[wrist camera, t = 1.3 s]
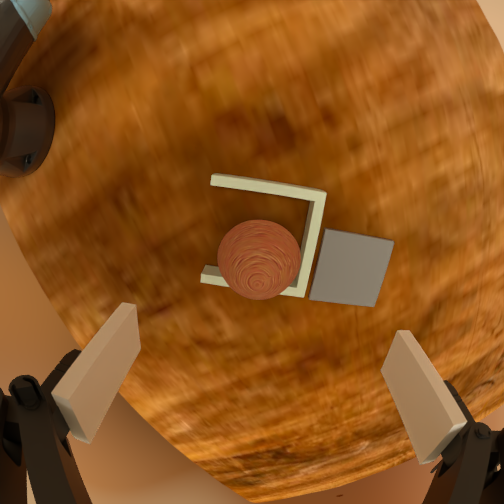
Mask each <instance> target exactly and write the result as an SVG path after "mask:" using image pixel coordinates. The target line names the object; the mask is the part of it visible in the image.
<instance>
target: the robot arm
mask: <svg viewBox="0 0 504 504" xmlns="http://www.w3.org/2000/svg"><path fill="white" fill-rule="evenodd" d="M51 13H52V5H51V3H50V1H49V0H0V175H3V176H7V177H13V178H15V177H21V176H26V175H29V174H31V173H32V172H34V171H35V170H36V169H37V168H38V167H39V166H40V165H41V163H42V162H43V160H44V159H45V157H46V155H47V153H48V150H49V148H50V145H51V142H52V138H53V133H54V125H55V114H54V107H53V103H52V100H51V98H50V96H49V95H48V93H47V92H46V91H45V90H44V89H42V88H40V87H36V86H29V85H26V86H21V87H17V88H14V89H11V90H8V91H5V90H6V88H7V86H8V84H9V82H10V80H11V79H12V77H13V75H14V73H15V71H16V70H17V68H18V66H19V64H20V63H21V61H22V59H23V58H24V56H25V55H26V53H27V51H28V50H29V48H30V47H31V45H32V44H33V42H34V41H36V40H37V36H38V34H39V32H40V31H41V29H42V28H43V26H44V25H45V23H46V22H47V20H48V19H49V17H50V16H51ZM140 350H141V345H140V338H139V329H138V320H137V310H136V305H135V304H129V303H124V302H122V303H121V304H120V306H119V307H118V308H117V309H116V310H115V311H114V313H113V314H112V315H111V316H110V317H109V319H108V320H107V321H106V322H105V324H104V325H103V326H102V327H101V328H100V330H99V331H98V332H97V333H96V335H95V336H94V337H93V338H92V340H91V341H90V342H89V343H88V345H87V346H86V347H85V348H84V350H83V351H79V350H76V349H74V350H72V351H71V352H69V353H68V354H66V355H65V356H64V357H63V359H62V360H61V361H60V363H59V364H58V365H57V366H56V367H55V370H53V371H52V372H51V373H50V375H49V376H48V377H47V379H46V380H45V381H44V382H43V384H42V385H41V386H40V385H39V383H38V381H37V380H36V379H35V378H34V377H33V376H30V375H21V376H19V377H16V378H15V379H13V380H12V382H11V383H10V385H9V392H10V394H11V396H7V395H4V393H3V391H2V389H1V388H0V504H27V483H26V482H27V480H26V477H27V471H28V475H29V480H30V484H31V487H32V491H33V494H34V498H35V501H36V504H92V502H91V499H90V497H89V495H88V493H87V490H86V488H85V485H84V483H83V480H82V478H81V476H80V473H79V470H78V467H77V465H76V462H75V459H74V456H73V453H72V450H71V447H70V444H69V441H68V439H67V437H66V436H67V434H68V432H69V431H71V433H72V435H73V436H74V438H76V439H78V440H81V441H83V442H86V443H89V444H91V442H92V440H93V438H94V436H95V434H96V432H97V430H98V428H99V426H100V424H101V422H102V420H103V418H104V416H105V414H106V412H107V410H108V409H109V406H110V405H111V403H112V401H113V399H114V397H115V395H116V393H117V391H118V390H119V388H120V386H121V384H122V382H123V380H124V378H125V377H126V375H127V373H128V371H129V369H130V367H131V366H132V364H133V362H134V360H135V358H136V357H137V355H138V353H139V351H140ZM381 372H382V375H383V377H384V379H385V381H386V384H387V386H388V388H389V390H390V393H391V395H392V397H393V400H394V402H395V404H396V407H397V409H398V411H399V414H400V416H401V418H402V421H403V423H404V426H405V428H406V431H407V433H408V436H409V438H410V441H411V443H412V446H413V448H414V451H415V454H416V456H417V459H418V462H419V464H420V465H422V464H426V463H429V462H433V461H434V460H435V459H436V458H437V457H438V456H439V455H440V454H441V455H442V457H443V459H442V460H441V461H440V462H439V463H438V464H437V465H436V466H435V467H434V468H433V469H432V471H431V473H433V472H434V471H435V470H436V469H437V471H436V473H435V476H434V478H433V480H432V483H431V485H430V488H429V490H428V492H427V495H426V497H425V499H424V501H423V503H422V504H504V428H503V429H502V430H501V431H491V429H490V428H489V427H488V426H487V425H486V424H484V423H480V422H477V423H476V422H475V421H474V419H473V417H472V415H471V414H470V412H469V410H468V409H467V407H466V405H465V404H464V402H462V399H461V397H460V396H458V393H457V391H456V389H455V388H454V386H452V385H451V384H450V383H449V382H448V381H447V380H444V381H443V380H442V378H441V377H440V375H439V374H438V372H437V371H436V369H435V368H434V366H433V365H432V363H431V361H430V360H429V358H428V357H427V355H426V354H425V352H424V351H423V349H422V348H421V347H420V345H419V344H418V342H417V341H416V339H415V338H414V336H413V335H412V334H411V332H410V331H409V330H397V332H396V335H395V338H394V340H393V343H392V345H391V347H390V350H389V352H388V355H387V357H386V359H385V362H384V364H383V366H382V368H381ZM499 464H500V465H501V466H500V467H501V469H500V470H499V471H497V466H498V465H499Z"/></svg>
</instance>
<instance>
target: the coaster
mask: <svg viewBox="0 0 504 504" xmlns="http://www.w3.org/2000/svg"><path fill="white" fill-rule="evenodd" d="M393 245H394V241H393V240H390V239H385V238H379V237H374V236H369V235H364V234H358V233H353V232H347V231H342V230H336V229H330V228H325V227H324V232H323V237H322V241H321V246H320V250H319V255H318V259H317V263H316V267H315V272H314V276H313V280H312V284H311V288H310V292H309V296H308V297H309V300H317V301H325V302H334V303H342V304H351V305H360V306H370V307H374V306H375V303H376V300H377V297H378V294H379V291H380V288H381V285H382V282H383V279H384V276H385V272H386V269H387V266H388V262H389V259H390V256H391V252H392V248H393Z"/></svg>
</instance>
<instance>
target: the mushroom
mask: <svg viewBox="0 0 504 504" xmlns="http://www.w3.org/2000/svg"><path fill="white" fill-rule="evenodd" d="M217 261H218V267H219V270H220V273H221V275H222V277H223V278H224V280H225V281H226V283H227V284H228V285H229V286H230V287H231V288H232V289H233V290H234V291H235V292H236V293H238V294H240V295H242V296H243V297H246V298H249V299H254V300H264V299H269V298H272V297H274V296H276V295H278V294H280V293H282V292H283V291H284V290H285V289H286V288H287V287H288V286H289V285H290V284H291V283H292V282H293V280H294V279H295V278H296V276H297V274H298V271H299V268H300V263H301V254H300V249H299V246H298V243H297V242H296V240H295V238H294V237H293V235H292V234H291V233H290V232H289V231H288V230H287V229H285V228H284V227H282V226H281V225H279V224H277V223H274V222H271V221H267V220H250V221H246V222H243V223H241V224H238V225H237V226H235V227H233V228H232V229H231V230H230V231H229V232H228V233H227V234H226V235H225V236H224V238H223V239H222V241H221V243H220V246H219V249H218V254H217Z"/></svg>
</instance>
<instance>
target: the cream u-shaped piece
mask: <svg viewBox="0 0 504 504" xmlns="http://www.w3.org/2000/svg"><path fill="white" fill-rule="evenodd" d="M210 185H213V186H220V187H228V188H235V189H242V190H249V191H256V192H263V193H269V194H275V195H282V196H288V197H294V198H299V199H305V200H310V204H309V209H308V215H307V220H306V225H305V230H304V235H303V240H302V245H301V250H300V254H301V263H300V268H299V271H298V274H297V276H296V278H295V279H294V280H293V282H292V283H291V284H290V285H289V286H288V287H287V288H286V289H285V290H284V291H283V292H282V293H280V294H281V295H288V296H296V297H304V295H305V291H306V287H307V283H308V279H309V274H310V270H311V266H312V261H313V257H314V252H315V248H316V243H317V239H318V234H319V229H320V224H321V220H322V215H323V210H324V205H325V199H326V194H327V193H326V192H325V191H323V190H321V189H315V188H310V187H305V186H299V185H293V184H287V183H281V182H275V181H269V180H262V179H256V178H249V177H242V176H235V175H227V174H219V173H215V174H213V175H212V176H211V184H210ZM201 283H207V284H214V285H220V286H226V287H230V286H229V285H228V284H227V283H226V281H225V280H224V278H223V277H222V275H221V273H220V270H219V267H216V266H209V265H205V267H204V269H203V271H202V273H201Z"/></svg>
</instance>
